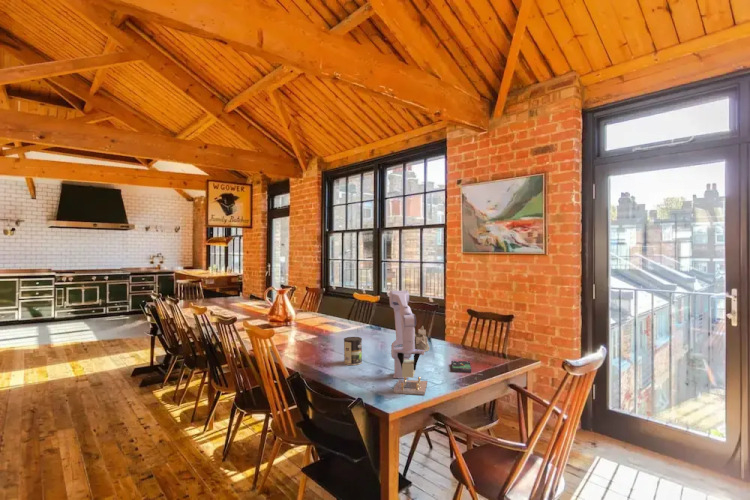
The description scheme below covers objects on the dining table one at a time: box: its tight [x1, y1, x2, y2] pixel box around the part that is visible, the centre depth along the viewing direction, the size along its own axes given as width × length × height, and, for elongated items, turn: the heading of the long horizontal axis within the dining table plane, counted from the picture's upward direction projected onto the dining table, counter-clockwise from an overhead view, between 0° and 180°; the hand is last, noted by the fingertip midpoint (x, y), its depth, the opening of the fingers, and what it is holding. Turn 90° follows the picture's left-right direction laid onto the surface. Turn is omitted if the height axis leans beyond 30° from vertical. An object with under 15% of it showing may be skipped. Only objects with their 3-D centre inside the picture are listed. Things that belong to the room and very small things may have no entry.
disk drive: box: [450, 360, 472, 374], centre depth 228 cm, size 10×3×15 cm
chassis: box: [393, 376, 428, 396], centre depth 195 cm, size 15×14×4 cm
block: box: [402, 359, 416, 378], centre depth 196 cm, size 8×5×6 cm, turn 168°
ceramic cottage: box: [415, 325, 430, 353], centre depth 271 cm, size 16×16×15 cm
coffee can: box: [343, 336, 363, 366], centre depth 240 cm, size 10×10×14 cm
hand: (408, 369), depth 196 cm, fingers closed on block, 5 cm apart
